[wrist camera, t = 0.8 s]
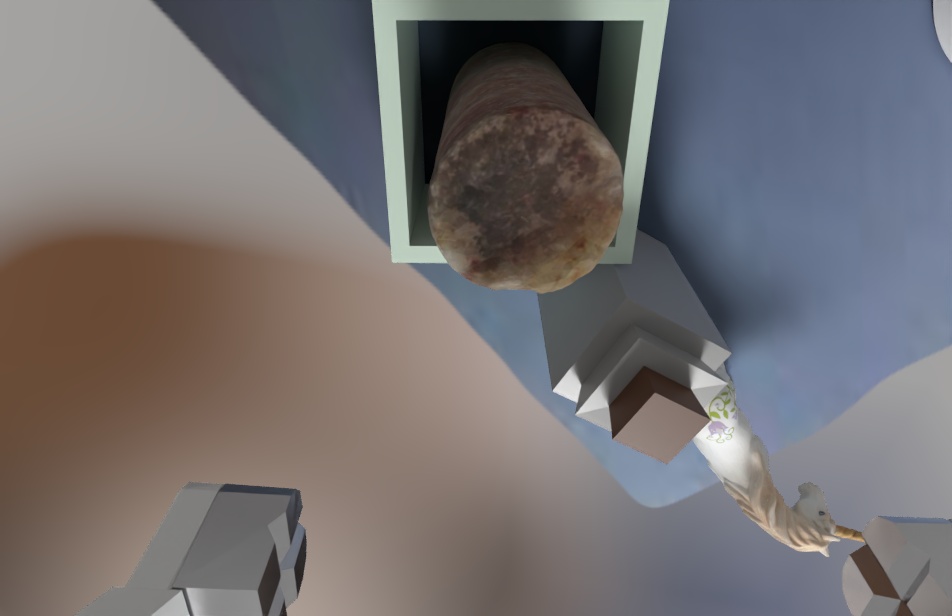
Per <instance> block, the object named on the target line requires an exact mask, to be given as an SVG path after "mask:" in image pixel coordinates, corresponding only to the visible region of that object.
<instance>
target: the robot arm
mask: <svg viewBox="0 0 952 616" xmlns="http://www.w3.org/2000/svg"><path fill="white" fill-rule="evenodd" d="M933 15H934V23H935V28H936V32H937V36H938V39H939V42H940V44H941V46H942V49H943V50H944V52H945V54H946V56H947V57H948V58H949V60H950V61H951V63H952V0H933ZM302 508H303V505H302V499H301V493H300V490H297V489H289V488H274V487H262V486H248V485H235V484H213V483H199V482H188V483H187V484H186V485H185V486H184V487H183V488H182V489H181V490H180V491H179V492H178V494H177V495H176V497H175V499H174V501H173V503H172V504H171V506H170V508H169V510H168V512H167V513H166V515H165V517H164V519H163V520H162V522H161V524H160V526H159V528H158V529H157V531H156V533H155V535H154V536H153V538H152V540H151V542H150V543H149V545H148V547H147V549H146V550H145V552H144V554H143V556H142V558H141V559H140V561H139V563H138V565H137V566H136V568H135V570H134V572H133V574H132V575H131V577H130V579H129V581H128V583H127V584H126V586H125V587H112V588H111V589H109V590H108V591H107V592H105V593H104V594H102V595H101V596H100V597H99V598H97V599H96V600H94V601H93V602H92V603H90V604H89V605H87V606H86V607H85V608H83V609H82V610H80V611H79V612H78V613H76V614H75V615H74V616H287V612H286V608H287V607H288V606H289V605H291V603H293V602H294V601H295V600H296V599H297V598H298V594H299V591H300V587H301V584H302V580H303V575H304V568H305V562H306V547H307V541H306V540H307V539H306V530H305V528H304V527H303V526H302V525H301V524H300V523H298V521H299V517H300V515H301V511H302ZM861 534H862V537H863V539H864V541H865V543H866V545H864V546H863V547H861V548H859V549H858V550H856V551H855V552H853V553H851V554H850V555H849V557H848V559H847V561H846V563H845V565H844V567H843V569H842V590H843V593H844V596H845V600H846V603H847V606H848V608H849V610H850V612H851V613H852V615H853V616H952V519H949V520H946V519H940V518H913V517H886V516H878V517H876V518H874V519H873V520H871V521H869V522H868V523H867V525H866V527H865V529H864V530H863V532H862V533H861Z"/></svg>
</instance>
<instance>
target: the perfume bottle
mask: <svg viewBox="0 0 952 616" xmlns="http://www.w3.org/2000/svg"><path fill="white" fill-rule="evenodd" d="M537 295H538V301H539V308H540V314H541V321H542V327H543V334H544V340H545V347H546V353H547V360H548V366H549V373H550V379H551V386H552V391H553V392H555V393H557V394H560V395H562V396H564V397H566V398H568V399H570V400H572V401H574V402H577V407H576V412H575V415H576V416H579V417H581V418H583V419H585V420H587V421H589V422H592V423H594V424H596V425H598V426H600V427H602V428H605V429H607V430H609V431H611V432H612V438H613V440H615V441H617V442H619V443H622V444H624V445H626V446H628V447H630V448H632V449H635V450H637V451H639V452H641V453H643V454H645V455H648V456H650V457H652V458H654V459H656V460H659V461H661V462H663V463H665V464H668V463H669V462H670V461H671V460H672V459H673V458H674V457H675V456H676V455H677V454H678V453H679V452H680V451H681V450H682V449H683V448H684V447H685V446H686V445H687V444H688V443H689V442H690V441H691V440H692V439H693V438H694V437H695V436H696V435H697V434H698V433H699V432H700V431H701V430H702V429H703V428H704V427H705V426H706V425H707V424H708V423H709V422H710V421H711V419H710V418H709V416H708V415H707V413H706V412H705V410H704V408H705V407H706V406H707V405H708V404H709V403H710V402H711V401H712V400H713V398H714V397H715V396H716V395H717V394H718V393H719V392H720V391H721V390H722V389H723V388H724V387H725V386H726V385H727V384H728V383H727V382H726V381H725V380H724V379H722V378H721V377H720V376H719V375H718V374H717V373H716V372H715V371H716V370H717V369H718V367H719V366H720V365H721V364H722V363H723V362H724V361H725V360H726V359H727V358H728V357H729V356H730V355H731V354H732V352H731V351H730V349H729V347H728V346H727V344H726V342H725V341H724V339H723V338H722V336H721V334H720V333H719V331H718V329H717V328H716V326H715V324H714V323H713V321H712V320H711V318H710V316H709V315H708V313H707V311H706V310H705V308H704V306H703V305H702V303H701V302H700V300H699V298H698V297H697V295H696V293H695V292H694V290H693V289H692V287H691V285H690V284H689V282H688V280H687V279H686V277H685V275H684V274H683V272H682V271H681V269H680V267H679V266H678V264H677V262H676V261H675V259H674V257H673V256H672V254H671V253H670V251H669V249H668V248H667V246H666V245H665V244H663V243H662V242H660V241H658V240H656V239H655V238H653V237H651V236H649V235H647V234H646V233H644V232H642V231H640V230H639V229H636V236H635V243H634V250H633V257H632V264H597V265H596V266H595V267H594V268H593V270H592V271H590V272H589V273H588V274H586V275H584V276H582V277H580V278H578V279H577V280H576V281H575V282H573V283H572V284H570V285H568V286H566V287H564V288H563V289H559V290H556V291H554V292H546V293H543V294H540V293H538V292H537Z"/></svg>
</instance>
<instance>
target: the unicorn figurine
mask: <svg viewBox="0 0 952 616" xmlns="http://www.w3.org/2000/svg"><path fill="white" fill-rule="evenodd" d="M715 372H716V373H717V374H718V375H719V376H720V377H721V378H722V379H724V380H725V381H726V382H727V383H728V384H727V385H726V386H725V387H724V388H723V389H722V390H721V391H720V392H719V393H718V394H717V395H716V396H715V397H714V398H713V400H712V401H711V402H710V403H709V404H708V405H707V406H706V407H705V408H704V410H705V412H706V413H707V415H708V416H709V418H710V419H711V421H710V422H709V423H708V424H707V425H706V426H705V427H704V428H703V429H702V430H701V431H700V432H699V433H698V434H697V435H696V436H695V437H694V438H693V441H694V443H695V445H696V446H697V447H698V449H699V450H700V451H701V452H702V454H703V455H704V456H705V457H706V458H707V463H708V465H709V467H710V468H711V469H712V471H713V472H715V473H716V474H717V476H718V477H719V479H720V480H721V481H722V482H723V484H724V488H725V489H726V491H727V492H728V493H729V494H730V495H732V496H733V497H734V498H735V499H736V501H737V503H738V504H739V505H740V506H741V508H742V509H743V510H742V511H743V513H745V514H746V515H747V516H748V517H749V518H751V519H752V520H753V521H755V522H756V523H757V524H758V525H759V526H760V527H761V528H763V529H764V530H765V531H766V532H768V533H769V534H770V535H771V536H772V537H774V538H775V539H777V540H778V541H780V542H782V543H784V544H786V545H788V546H790V547H791V548H793V549H795V550H798V551H807V552H809V551H810V552H811V551H820V552H821V553H822V554H824V555H825V556H827V557H829V555H830V554H829V551H828V548H827V546H828V545H829V542H832V541H840V539H839V538H838V537H836V536H839V537H842V538H849V539H852V540H859V541H861V542H865V541H864V539H863V537H862V534H861V533H862V532H858V531H856V530H853V529H848V528H845V527H842V526H838V525H835V522H834V521H833V520H832V519H831V516H830V514H829V513H828V509H827V505H826V502H825V500H824V492H823V491H822V490H821V489H820V488H818V486H816V485H814V484H813V483H811V482H808V483H804V484H802V485H800V486H799V487H798V491H799V493H800V494H801V495H800V500H799V501H798V502H797V503H796V504H795V505H794V506H793V507H792V508H789V507H788V506H786V505H785V503H784V499H783V497H782V496H781V495H780V494H779V492H778V491H777V489H776V488H775V487H774V485H773V482H772V478H771V475H770V473H769V456H768V452H767V449H766V447H765V445H764V443H763V441H762V440H761V439H760V438H759V437H758V436H757V435H755V434H754V433H753V430H752V428H751V426H750V423H749V421H748V419H747V418H746V416H745V415H744V413H743V412H742V411H741V410H740V409H739V408H738V407H737V405H736V391H735V388H734V385H733V382H732V380H731V378H730V377H729V375H728V374H727V373H726V369H725V365H724V363H722V364H721V365H720V366H719V367H718V369H717V370H716V371H715Z"/></svg>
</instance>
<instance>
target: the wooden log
mask: <svg viewBox="0 0 952 616" xmlns="http://www.w3.org/2000/svg"><path fill="white" fill-rule="evenodd" d="M623 189H624V179H623V172H622V167H621V163H620V160H619V156H618V155H617V153H616V152H615V150H614V148H613V147H612V145H611V143H610V142H609V140H608V139H607V138H606V136H605V135H604V134H603V133H602V131H601V130H600V129H599V128H598V126H597V124H596V122H595V121H594V119H593V118H592V116H591V115H590V114H589V112H588V111H587V110H586V108H585V107H584V105H583V103H582V102H581V100H580V99H579V97H578V96H577V94H576V93H575V91H574V90H573V89H572V87H571V86H570V84H569V82H568V80H567V79H566V78H565V76H564V75H563V73H562V72H561V71H560V69H559V68H558V66H557V65H556V64H555V62H554V61H552V60H551V59H550V58H549V57H548V56H547V55H546V54H544V53H543V52H542V51H541V50H539V49H537V48H535V47H532V46H530V45H527V44H524V43H515V42H510V43H499V44H495V45H492V46H489V47H487V48H485V49H482V50H480V51H478V52H477V53H476V54H475V55H473V56H472V57H471V58H470V59H469V60H468V61H467V62H466V63H465V64H464V65H463V66H462V68H461V69H460V71H459V72H458V74H457V76H456V78H455V80H454V83H453V86H452V89H451V92H450V96H449V100H448V105H447V111H446V116H445V121H444V126H443V131H442V136H441V140H440V143H439V148H438V152H437V156H436V160H435V166H434V170H433V174H432V177H431V180H430V184H429V188H428V193H427V211H428V219H429V225H430V229H431V233H432V236H433V238H434V240H435V242H436V244H437V247H438V248H439V250H440V252H441V253H442V255H443V257H444V258H445V259H446V261H447V262H448V264H449V265H450V266H451V267H452V268H453V269H454V270H455V271H457V272H458V273H459V274H461V275H462V276H464V277H465V278H466V279H468V280H469V281H471V282H472V283H474V284H476V285H480V286H484V287H487V288H490V289H492V290H501V289H522V290H534V291H536V292H538V293H540V294H543V293H546V292H554V291H556V290H559V289H563V288H564V287H566V286H568V285H570V284H572V283H573V282H575V281H576V280H577V279H578V278H580V277H582V276H584V275H586V274H588V273H589V272H590V271H592V270H593V268H594V267H595V266H596V265H597V263H598V262H599V261H600V259H601V258H602V257H603V256H604V254H605V252H606V249H607V248H608V246H609V245H610V243H611V242H612V240H613V238H614V236H615V234H616V232H617V230H618V228H619V224H620V219H621V216H622V213H623V198H624V190H623Z"/></svg>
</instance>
